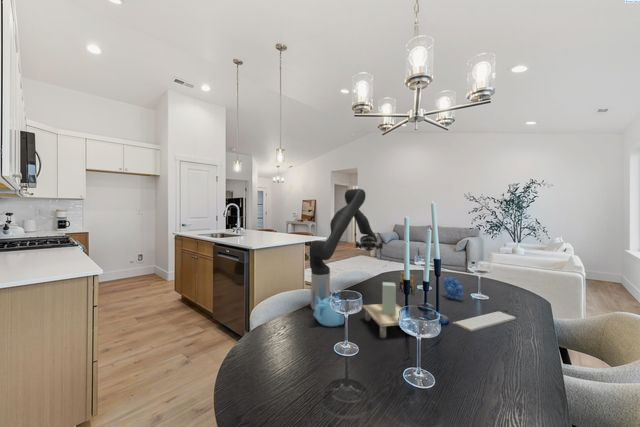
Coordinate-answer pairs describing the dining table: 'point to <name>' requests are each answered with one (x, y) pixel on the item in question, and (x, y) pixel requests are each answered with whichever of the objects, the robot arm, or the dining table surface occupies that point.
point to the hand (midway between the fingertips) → (369, 247)
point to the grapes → (453, 288)
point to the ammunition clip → (410, 282)
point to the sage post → (389, 298)
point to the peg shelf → (381, 317)
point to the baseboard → (484, 321)
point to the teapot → (327, 313)
